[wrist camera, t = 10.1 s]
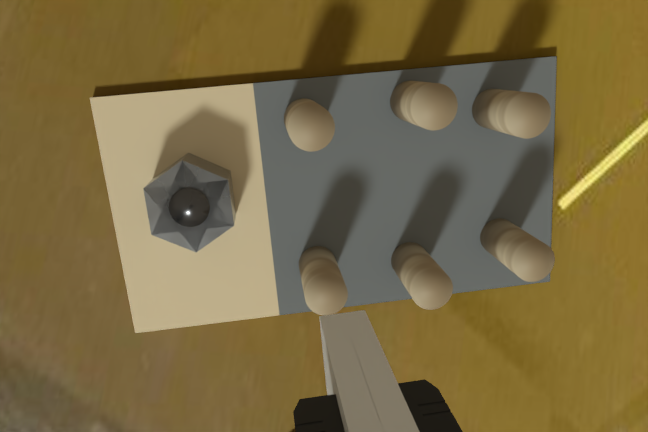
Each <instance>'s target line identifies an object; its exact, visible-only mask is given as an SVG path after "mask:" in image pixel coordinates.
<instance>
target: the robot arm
mask: <svg viewBox="0 0 648 432" xmlns="http://www.w3.org/2000/svg"><path fill="white" fill-rule="evenodd" d="M319 318H320V328H321V338H322V348H323V358H324V368H325V378H326V388H327V394H328V395H326V396H319V397H312V398H306V399H300V400H299V402H298V404H297V406H296V408H295V410H294V421H295V430H296V432H462V430H461V428H460V427H459V425H458V423H457V421H456V419H455V418H454V416H453V414H452V413H451V412H450V409H449V407H448V405H447V404H446V403H445V400H444V398H443V397H442V395H441V393H440V391H439V390H438V388H436V387H435V386H433V385H432V384H431V383H429V382H428V381H426V380H419V381H412V382H405V383H399V384H398V383H397V381H396V378H395V376H394V374H393V372H392V370H391V367H390V365H389V363H388V361H387V358H386V356H385V354H384V352H383V350H382V347H381V345H380V343H379V341H378V338H377V336H376V334H375V332H374V330H373V327H372V325H371V323H370V321H369V318H368V316H367V314H366V312H365V310H363V311H355V312H348V313H340V314H333V315H325V316H319Z"/></svg>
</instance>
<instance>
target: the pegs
mask: <svg viewBox="0 0 648 432" xmlns="http://www.w3.org/2000/svg"><path fill="white" fill-rule="evenodd" d="M390 106H391V109H392V111H393V113H394V114H395V116H396V117H398V118H399V119H401V120H404V121H406V122H409V123H411V124H414V125H417V126H419V127H422V128H425V129H427V130H440V129H443V128H445V127H446V126H448V125H449V124H450V123H451V122H452V121H453V119H454V118H455V115H456V113H457V108H458V103H457V98H456V95H455V94H454V92H453V91H452V90H451V89H450V88H449V87H448V86H446V85H444V84H440V83H431V82H420V81H405V82H402V83H400V84H399V85H398V86H397V87H396V88H395V89H394V90H393V92H392V94H391V98H390ZM472 115H473V118H474V120H475V121H476V123H477V124H478V125H480V126H481V127H484V128H487V129H491V130H495V131H498V132H502V133H506V134H509V135H513V136H516V137H520V138H525V139H529V138H533V137H536V136H538V135H540V134H541V133H542V132H543V131H544V130H545V129H546V127H547V126H548V124H549V121H550V118H551V109H550V105H549V103H548V101H547V100H546V99H545V98H544V97H543V96H542V95H540V94H537V93H531V92H521V91H511V90H501V89H487V90H485V91H483V92H481V93H480V94H479V95H478V96H477V97H476V98H475V100H474V102H473V105H472ZM284 124H285V127H286V129H287V132H288V134H289V137H290V139H291V140H292V142H293V143H294V144H295V145H296V146H297V147H298V148H300V149H302V150H304V151H310V152H313V151H318V150H321V149H323V148H324V147H326V146H327V145H328V144H329V143H330V142H331V140H332V138H333V136H334V132H335V123H334V119H333V117H332V115H331V114H330V113H329V111H328V110H327V109H325V108H324V107H322V106H321V105H319V104H318V103H316V102H315V101H313V100H311V99H306V98H301V99H297V100H295V101H293V102H292V103H291V104H290V105H289V106H288V107H287V109H286V110H285V113H284ZM480 241H481V245H482V246H483V248H484V249H485V250H486V251H488V252H489V253H490V254H491V255H493V256H494V257H495V258H496V259H497V260H499V261H500V262H501V263H502V264H504V265H505V266H506V267H507V268H508V269H510V270H511V271H512V272H513V273H515V274H516V275H517V276H518V277H519V278H521V279H522V280H524V281H527V282H536V281H539V280H542V279H543V278H545V277H546V276H547V275H548V274H549V273H550V272H551V270H552V268H553V266H554V261H555V257H554V253H553V251H552V249H551V248H550V247H549V246H548V245H546V244H545V243H543V242H542V241H540V240H538V239H537V238H535V237H534V236H532V235H530V234H529V233H527V232H526V231H524V230H522V229H521V228H519V227H518V226H516V225H514V224H513V223H511V222H510V221H508V220H506V219H502V218H498V219H493V220H491V221H489V222H488V223H487V224H486V225H485V226H484V227H483V229H482V231H481V234H480ZM391 265H392V268H393V269H394V271H395V273H396V274H397V276H398V277H399V279H400V280H401V282H402V283H403V285H404V286H405V288H406V289H407V291H408V292H409V294H410V296H411V297H412V299H413V300H414V302H415V303H416V304H417V305H418V306H420V307H421V308H424V309H429V310H431V309H437V308H439V307H441V306H443V305H444V304H446V303H447V302H448V300H449V299H450V297H451V295H452V292H453V284H452V281H451V279H450V277H449V276H448V275H447V274H446V273H445V272H444V270H443V269H442V268H441V267H440V266H439V265H438V264H437V263H436V262H435V260H434V259H433V258H432V257H431V256H430V255H429V254H428V253H427V251H426V250H425V249H424V248H423V247H422V246H421V245H419V244H417V243H414V242H407V243H404V244H401V245H400V246H398V247H397V248H396V249H395V251H394V252H393V254H392V257H391ZM299 271H300V276H301V281H302V286H303V291H304V297H305V301H306V304H307V306H308V307H309V308H310V310H312V311H313V312H314V313H317V314H319V315H331V314H334V313H336V312H338V311H339V310H341V309H342V308H343V306H344V305H345V303H346V301H347V298H348V291H347V287H346V285H345V282H344V280H343V277H342V274H341V272H340V269H339V267H338V264H337V262H336V259H335V257H334V255H333V253H332V252H331V251H330V250H329V249H327V248H325V247H322V246H314V247H310V248H308V249H307V250H305V251H304V252H303V253H302V255H301V257H300V259H299Z"/></svg>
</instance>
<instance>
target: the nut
mask: <svg viewBox="0 0 648 432" xmlns="http://www.w3.org/2000/svg"><path fill="white" fill-rule="evenodd" d="M143 190H144V196H145V202H146V207H147V213H148V219H149V224H150V230H151V235H153V236H156V237H158V238H161V239H163V240H166V241H168V242H171V243H173V244H176V245H179V246H181V247H184V248H186V249H189V250H191V251H194V252H198V251H199V250H201V249H202V248H203V247H205V246H206V245H208V244H209V243H211V242H212V241H213V240H215V239H216V238H218V237H219V236H220V235H222V234H223V233H225V232H226V231H227V230H229V229H230V228H232V227H233V226H234V223H235V217H236V208H235V200H234V193H233V185H232V177H231V171H230V170H228V169H226V168H223V167H221V166H219V165H216V164H214V163H212V162H209V161H207V160H205V159H202V158H200V157H198V156H195V155H193V154H191V153H187V154H186V155H185V156H183V157H182V158H180V159H179V160H178V161H176V162H175V163H174V164H172V165H171V166H169V167H168V168H167V169H165V170H164V171H162V172H161V173H160V174H158V175H157V176H156V177H154V178H153V179H152V180H151V181H150V182H149V183H148V184H147V185H146V186H145V187H144V188H143Z"/></svg>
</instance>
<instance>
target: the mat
mask: <svg viewBox="0 0 648 432" xmlns="http://www.w3.org/2000/svg"><path fill="white" fill-rule="evenodd" d="M556 58H557V56H552V57H541V58H529V59H518V60H507V61H496V62H484V63H473V64H462V65H451V66H439V67H428V68H417V69H406V70H394V71H383V72H372V73H361V74H349V75H338V76H327V77H316V78H304V79H293V80H282V81H271V82H259V83H248V84H237V85H226V86H215V87H203V88H192V89H181V90H170V91H158V92H147V93H136V94H125V95H113V96H102V97H92V98H90V102H91V107H92V112H93V117H94V123H95V128H96V133H97V138H98V143H99V148H100V154H101V159H102V164H103V169H104V174H105V179H106V185H107V190H108V195H109V200H110V205H111V210H112V215H113V221H114V226H115V231H116V236H117V241H118V246H119V252H120V257H121V262H122V267H123V272H124V277H125V283H126V288H127V293H128V298H129V303H130V308H131V313H132V319H133V324H134V329H135V333H140V332H148V331H156V330H164V329H172V328H180V327H188V326H196V325H204V324H212V323H220V322H228V321H236V320H244V319H253V318H261V317H269V316H277V315H285V314H293V313H301V312H309V311H312V310H310V308H309V307H308V306H307V304H306V301H305V297H304V291H303V286H302V281H301V276H300V271H299V259H300V257H301V255H302V253H303V252H304V251H305V250H307V249H308V248H310V247H314V246H322V247H325V248H327V249H329V250H330V251H331V252H332V253H333V255H334V257H335V259H336V262H337V264H338V267H339V269H340V272H341V274H342V277H343V280H344V282H345V285H346V287H347V291H348V298H347V301H346V303H345V305H344V306H343V307H349V306H357V305H365V304H373V303H381V302H389V301H397V300H405V299H412V297H411V296H410V294H409V292H408V291H407V289H406V288H405V286H404V285H403V283H402V282H401V280H400V279H399V277H398V276H397V274H396V273H395V271H394V269H393V268H392V265H391V257H392V254H393V252H394V251H395V249H396V248H397V247H398V246H400V245H401V244H404V243H407V242H414V243H417V244H419V245H421V246H422V247H423V248H424V249H425V250H426V251H427V253H428V254H429V255H430V256H431V257H432V258H433V259H434V260H435V262H436V263H437V264H438V265H439V266H440V267H441V268H442V269H443V270H444V272H445V273H446V274H447V275H448V276H449V277H450V279H451V281H452V284H453V292H452V294H453V293H461V292H469V291H477V290H485V289H493V288H501V287H509V286H517V285H525V284H533V283H541V282H549V281H550V273H549V274H548V275H547V276H546V277H545V278H543V279H542V280H539V281H536V282H527V281H524V280H522V279H521V278H519V277H518V276H517V275H516V274H515V273H513V272H512V271H511V270H510V269H508V268H507V267H506V266H505V265H504V264H502V263H501V262H500V261H499V260H497V259H496V258H495V257H494V256H493V255H491V254H490V253H489V252H488V251H486V250H485V249H484V248H483V246H482V245H481V241H480V234H481V231H482V229H483V227H484V226H485V225H486V224H487V223H488V222H489V221H491V220H493V219H498V218H502V219H506V220H508V221H510V222H511V223H513V224H514V225H516V226H518V227H519V228H521V229H522V230H524V231H526V232H527V233H529V234H530V235H532V236H534V237H535V238H537V239H538V240H540V241H542V242H543V243H545V244H546V245H548V246H549V247H550V248H551V228H552V194H553V160H554V126H555V92H556ZM405 81H420V82H431V83H440V84H444V85H446V86H448V87H449V88H450V89H451V90H452V91H453V92H454V94H455V95H456V98H457V103H458V108H457V113H456V115H455V118H454V119H453V121H452V122H451V123H450V124H449V125H448V126H446V127H445V128H443V129H440V130H427V129H425V128H422V127H419V126H417V125H414V124H411V123H409V122H406V121H404V120H401V119H399V118H398V117H396V116H395V114H394V113H393V111H392V109H391V106H390V98H391V94H392V92H393V90H394V89H395V88H396V87H397V86H398V85H399V84H400V83H402V82H405ZM487 89H501V90H511V91H521V92H531V93H537V94H540V95H542V96H543V97H544V98H545V99H546V100H547V101H548V103H549V105H550V109H551V118H550V121H549V124H548V126H547V127H546V129H545V130H544V131H543V132H542V133H541V134H540V135H538V136H536V137H533V138H529V139H525V138H520V137H516V136H513V135H509V134H506V133H502V132H498V131H495V130H491V129H487V128H484V127H481V126H480V125H478V124H477V123H476V121H475V120H474V118H473V115H472V105H473V102H474V100H475V98H476V97H477V96H478V95H479V94H480V93H481V92H483V91H485V90H487ZM301 98H306V99H311V100H313V101H315V102H316V103H318V104H319V105H321V106H322V107H324V108H325V109H327V110H328V111H329V113H330V114H331V115H332V117H333V119H334V123H335V132H334V136H333V138H332V140H331V142H330V143H329V144H328V145H327V146H326V147H324V148H323V149H321V150H318V151H313V152H310V151H304V150H302V149H300V148H298V147H297V146H296V145H295V144H294V143H293V142H292V140H291V139H290V137H289V134H288V132H287V129H286V127H285V124H284V113H285V110H286V109H287V107H288V106H289V105H290V104H291V103H292V102H293V101H295V100H297V99H301ZM187 153H191V154H193V155H195V156H198V157H200V158H202V159H205V160H207V161H209V162H212V163H214V164H216V165H219V166H221V167H223V168H226V169H228V170H230V171H231V177H232V185H233V193H234V200H235V208H236V217H235V223H234V226H233V227H232V228H230V229H229V230H227V231H226V232H225V233H223V234H222V235H220V236H219V237H218V238H216V239H215V240H213V241H212V242H211V243H209V244H208V245H206V246H205V247H203V248H202V249H201V250H199V251H198V252H194V251H191V250H189V249H186V248H184V247H181V246H179V245H176V244H173V243H171V242H168V241H166V240H163V239H161V238H158V237H156V236H153V235H151V230H150V224H149V219H148V213H147V207H146V202H145V196H144V190H143V188H144V187H145V186H146V185H147V184H148V183H149V182H150V181H151V180H152V179H153V178H154V177H156V176H157V175H158V174H160V173H161V172H162V171H164V170H165V169H167V168H168V167H169V166H171V165H172V164H174V163H175V162H176V161H178V160H179V159H180V158H182V157H183V156H185V155H186V154H187Z"/></svg>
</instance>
